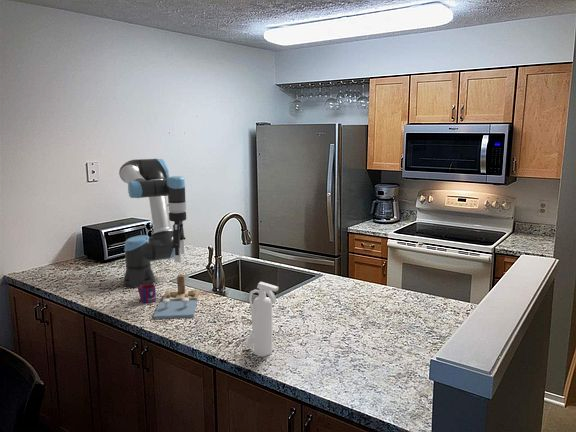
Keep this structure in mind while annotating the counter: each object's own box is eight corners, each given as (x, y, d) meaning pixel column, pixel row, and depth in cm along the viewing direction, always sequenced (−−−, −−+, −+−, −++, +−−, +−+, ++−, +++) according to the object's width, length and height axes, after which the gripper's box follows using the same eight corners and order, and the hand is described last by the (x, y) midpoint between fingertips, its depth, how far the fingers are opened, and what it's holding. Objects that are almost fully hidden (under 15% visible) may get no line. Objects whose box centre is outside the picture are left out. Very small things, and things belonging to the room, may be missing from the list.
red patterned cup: (145, 304, 202) (144, 290, 201) (134, 299, 209) (133, 284, 208) (158, 300, 207) (158, 286, 206) (147, 295, 214) (146, 281, 212)
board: (159, 304, 202) (159, 294, 201) (196, 302, 204) (196, 292, 203) (153, 319, 187) (152, 307, 186) (193, 317, 188) (193, 306, 188)
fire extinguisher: (251, 342, 165) (251, 276, 160) (280, 351, 160) (281, 283, 154) (240, 350, 160) (240, 282, 154) (270, 360, 154) (271, 289, 148)
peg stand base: (199, 293, 216) (198, 273, 214) (197, 302, 205) (196, 280, 203) (166, 294, 214) (165, 274, 212) (162, 303, 203) (161, 281, 202)
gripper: (172, 207, 216) (174, 250, 220) (164, 216, 191) (167, 266, 195) (188, 206, 217) (190, 250, 221) (182, 216, 192) (185, 265, 196)
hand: (179, 257), depth 208 cm, fingers open, 13 cm apart
